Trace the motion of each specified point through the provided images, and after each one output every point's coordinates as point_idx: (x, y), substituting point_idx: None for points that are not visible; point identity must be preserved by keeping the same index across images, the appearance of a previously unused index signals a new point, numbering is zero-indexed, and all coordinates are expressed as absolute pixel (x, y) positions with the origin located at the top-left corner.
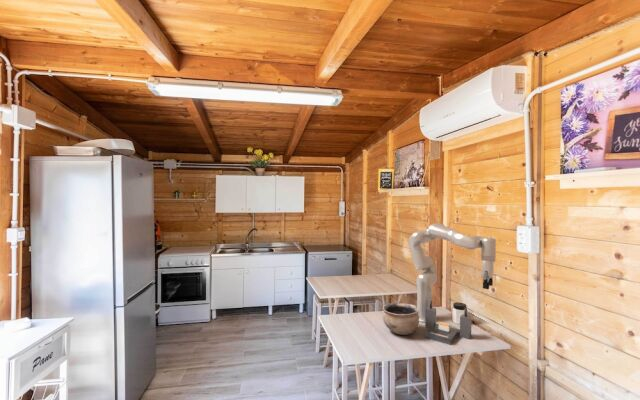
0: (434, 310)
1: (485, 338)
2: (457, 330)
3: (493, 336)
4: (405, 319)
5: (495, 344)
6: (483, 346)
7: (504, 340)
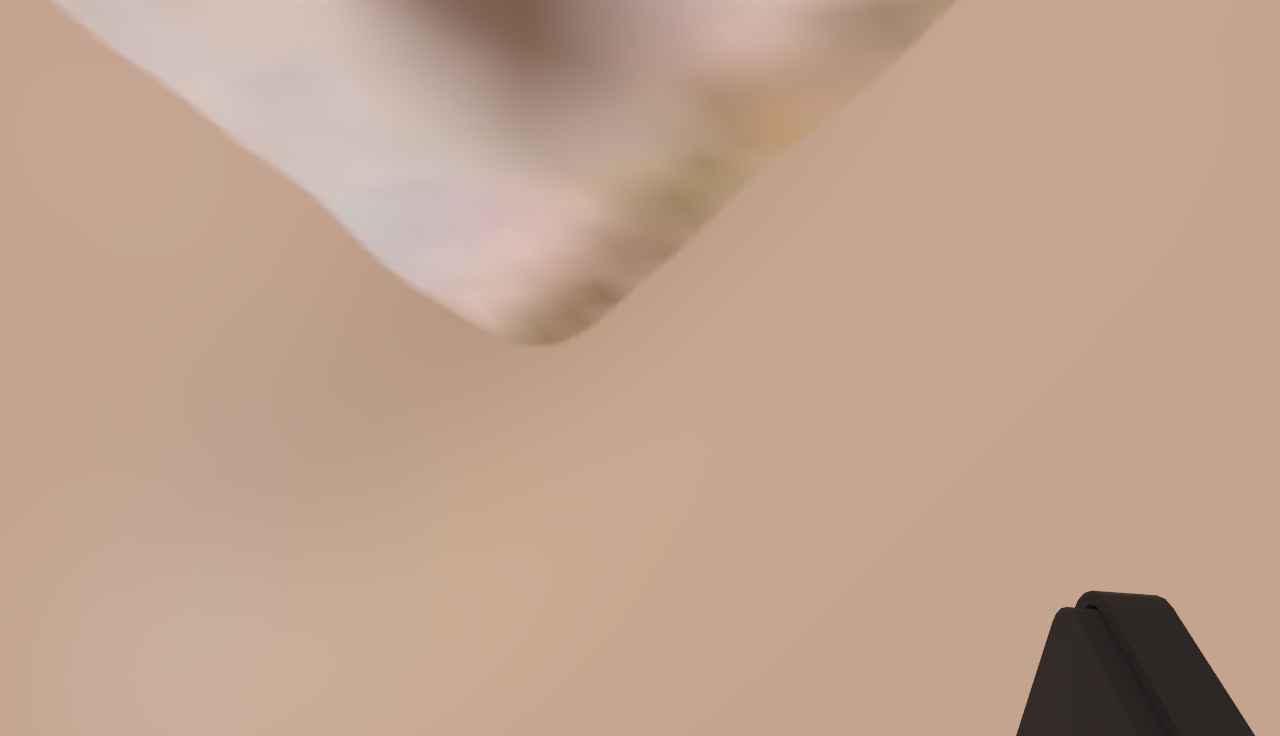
0: None
1: (473, 8)
2: None
3: (659, 123)
4: None
5: (318, 186)
6: (84, 22)
7: (586, 292)
